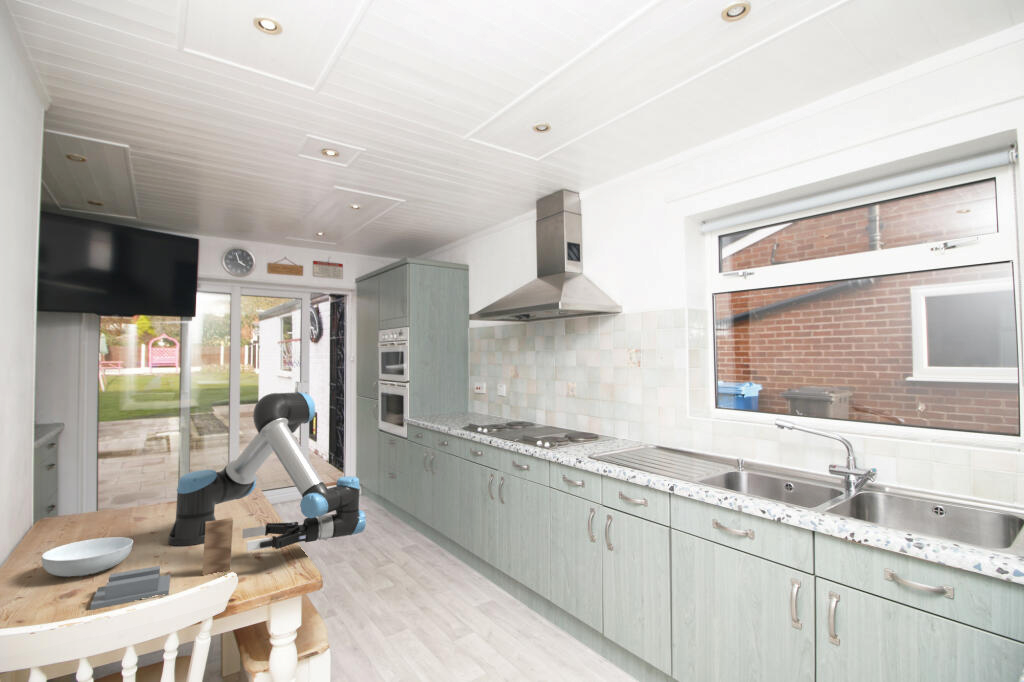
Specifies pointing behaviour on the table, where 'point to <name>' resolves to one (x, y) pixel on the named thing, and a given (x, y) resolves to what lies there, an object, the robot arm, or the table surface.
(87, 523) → the table surface
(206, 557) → the walnut card
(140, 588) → the slotted rack
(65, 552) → the serving bowl
